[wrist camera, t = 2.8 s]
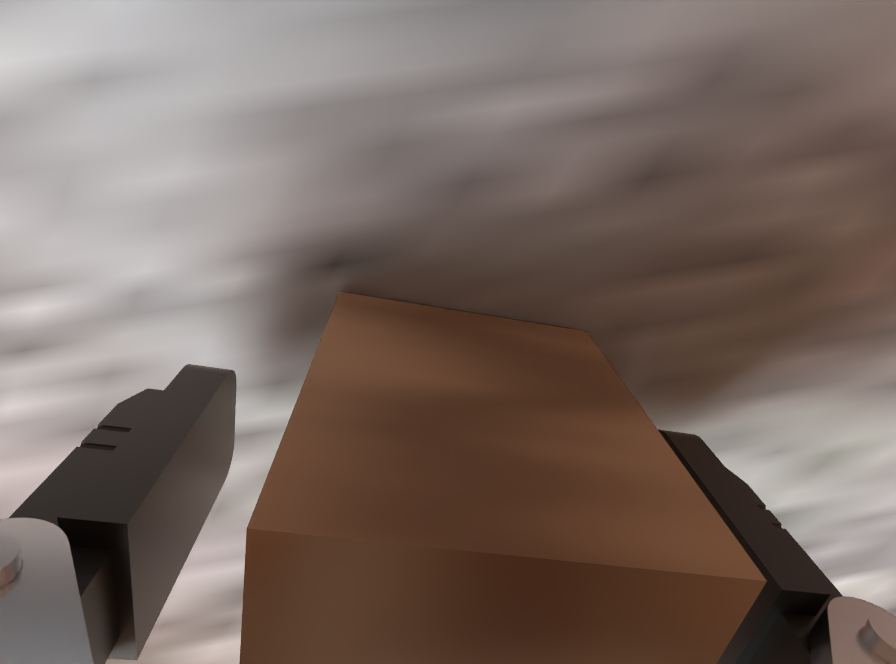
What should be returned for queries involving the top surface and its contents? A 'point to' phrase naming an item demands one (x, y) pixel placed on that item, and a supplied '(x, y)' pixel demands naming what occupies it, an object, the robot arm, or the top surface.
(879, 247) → the top surface
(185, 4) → the top surface
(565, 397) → the walnut block
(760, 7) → the top surface
